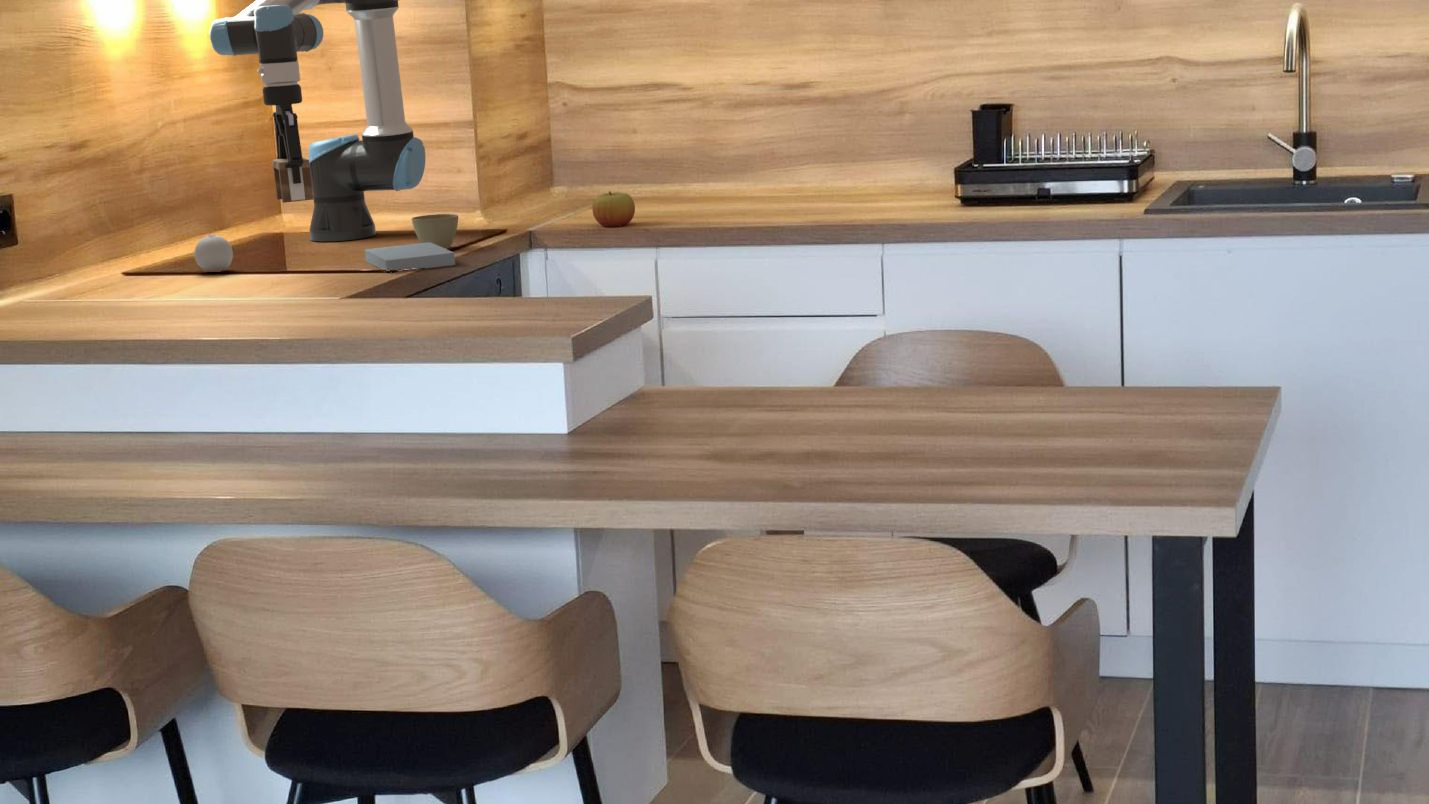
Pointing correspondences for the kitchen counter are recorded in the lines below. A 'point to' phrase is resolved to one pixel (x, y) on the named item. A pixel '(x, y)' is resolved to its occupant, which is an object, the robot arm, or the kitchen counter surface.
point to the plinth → (410, 256)
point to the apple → (613, 209)
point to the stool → (283, 180)
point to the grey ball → (213, 253)
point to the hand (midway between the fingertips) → (294, 197)
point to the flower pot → (436, 228)
